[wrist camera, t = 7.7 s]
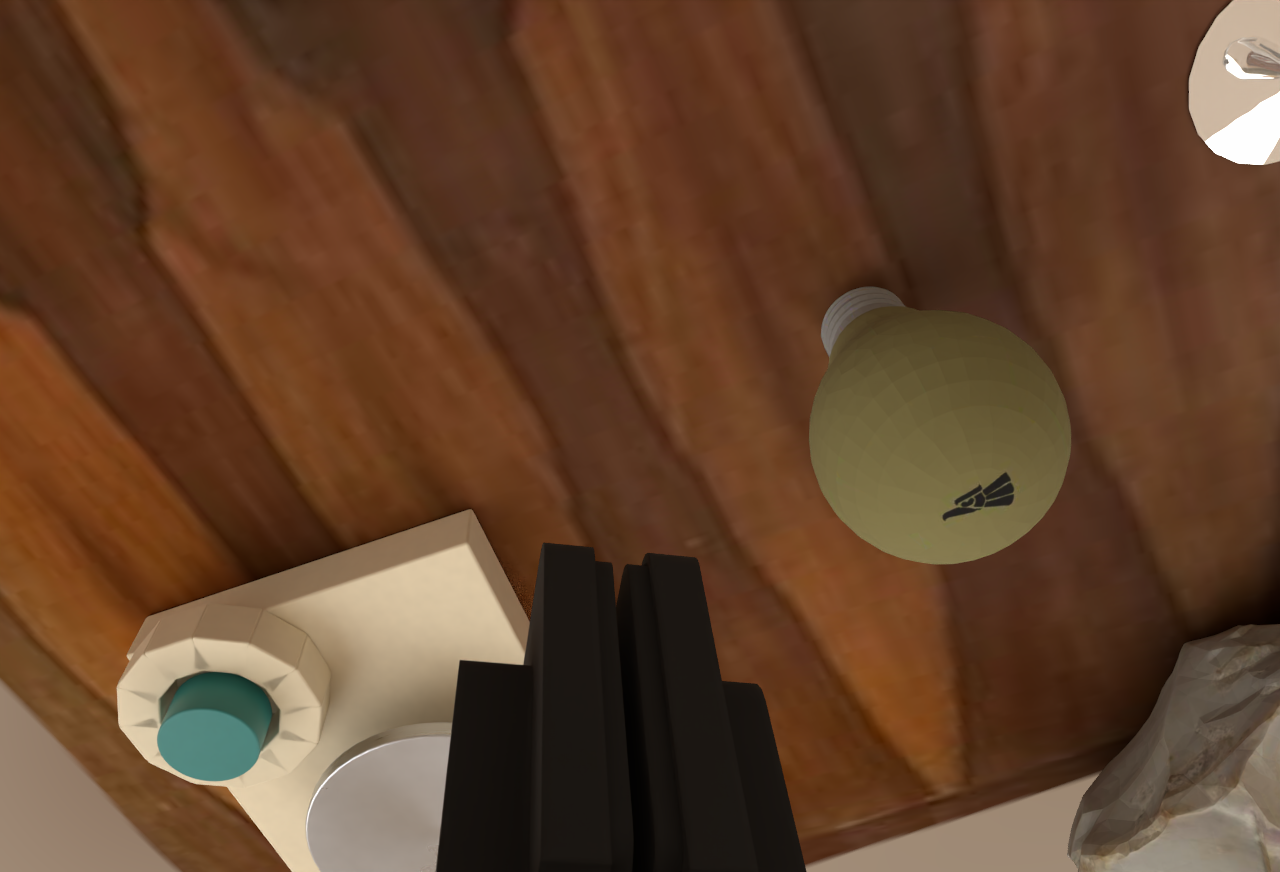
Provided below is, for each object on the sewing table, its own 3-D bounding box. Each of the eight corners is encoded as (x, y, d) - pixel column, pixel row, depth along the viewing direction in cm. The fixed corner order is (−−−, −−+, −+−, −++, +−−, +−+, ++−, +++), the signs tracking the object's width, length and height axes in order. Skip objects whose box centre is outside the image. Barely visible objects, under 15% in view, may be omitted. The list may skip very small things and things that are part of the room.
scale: (120, 599, 33) (76, 675, 30) (460, 484, 32) (450, 552, 29) (328, 877, 40) (309, 963, 37) (616, 790, 38) (621, 872, 35)
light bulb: (869, 176, 28) (1008, 323, 19) (995, 309, 30) (1173, 496, 22) (718, 322, 30) (784, 518, 21) (848, 438, 32) (956, 660, 23)
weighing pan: (258, 769, 32) (253, 784, 32) (519, 687, 31) (518, 702, 31) (382, 935, 36) (379, 951, 36) (615, 867, 35) (616, 882, 35)
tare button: (154, 687, 31) (136, 726, 29) (242, 659, 31) (228, 696, 29) (204, 753, 32) (189, 793, 31) (289, 726, 32) (277, 765, 31)
